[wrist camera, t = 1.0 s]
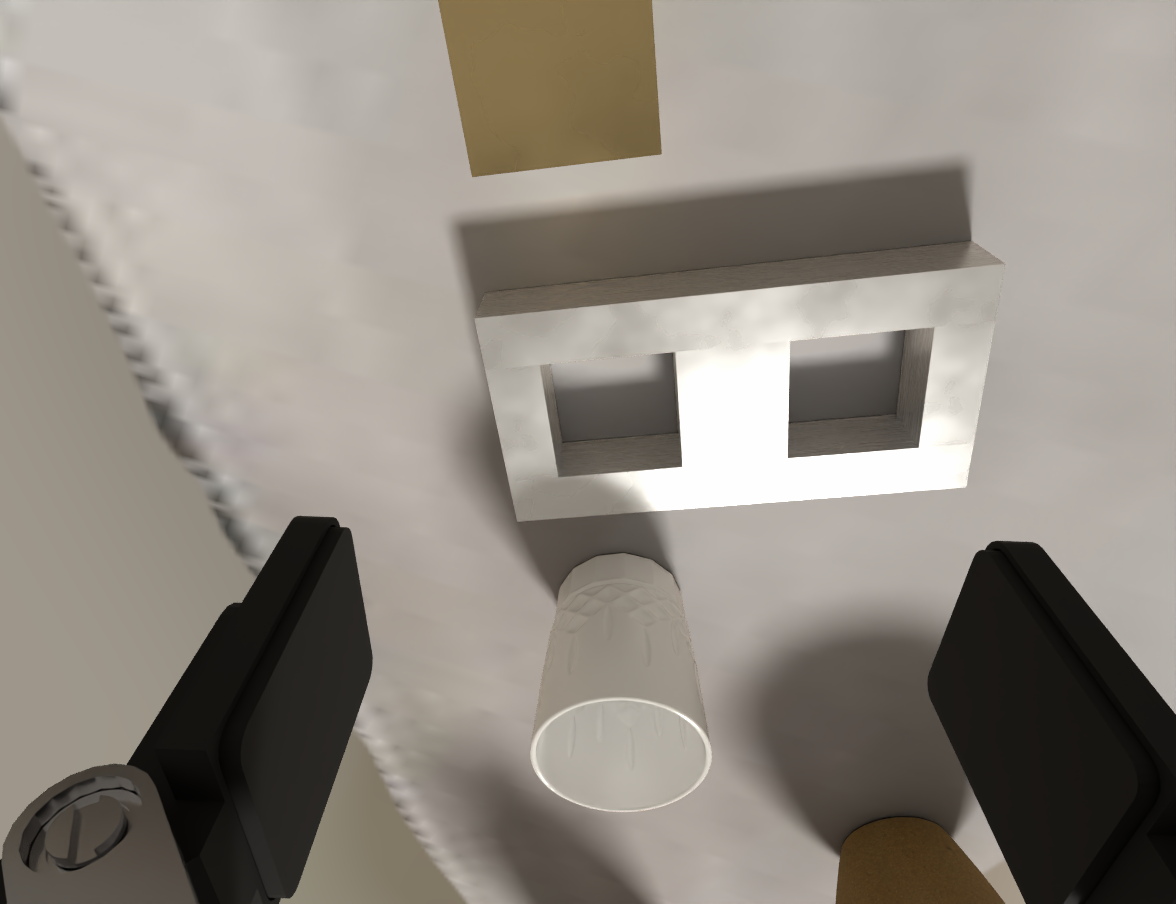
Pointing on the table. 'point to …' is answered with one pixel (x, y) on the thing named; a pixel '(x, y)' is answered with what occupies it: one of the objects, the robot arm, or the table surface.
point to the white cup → (620, 691)
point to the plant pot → (908, 867)
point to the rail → (745, 380)
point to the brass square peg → (553, 81)
